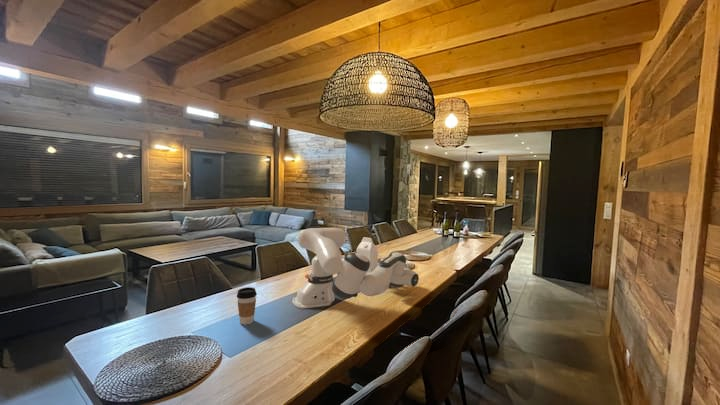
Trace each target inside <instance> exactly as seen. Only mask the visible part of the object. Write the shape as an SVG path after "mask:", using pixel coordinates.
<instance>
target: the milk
mask: <svg viewBox="0 0 720 405" xmlns="http://www.w3.org/2000/svg"><path fill="white" fill-rule="evenodd" d="M378 251H379V250H378V247H377V246H376V244H375V243H374V241H373V238H371V237H368V236H367V237H365V236H364V237H362V239H361V242H360V243H359V244H358V246H357V248H356V252H358V253H361V254H363V255H364V256H366V257H367V258H368V259H369V261H370V267H369V269H368V271H367V272H366V274H368V273H370V272H372V271H373V270H374V269H375V268H376V267H377V266H378V264H379V262H378V261H379V259H378V258H379V256H378V253H379V252H378Z"/></svg>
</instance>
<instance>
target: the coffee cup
mask: <svg viewBox="0 0 720 405" xmlns="http://www.w3.org/2000/svg"><path fill="white" fill-rule="evenodd" d="M256 296H257V291H256V288H254V287H243V288H242V287H241V288H240V289H238V290H237V293H236V298H237V311H238V316H239V324H240V325H241V324H243V325H242V326H247V325H246V324H249V325H251V323H252V322H253V321H254V322H255V313H256V311H255V310H256V300H257V297H256ZM254 322H253V323H254ZM253 323H252V324H253Z"/></svg>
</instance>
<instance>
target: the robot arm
mask: <svg viewBox="0 0 720 405" xmlns="http://www.w3.org/2000/svg"><path fill="white" fill-rule="evenodd" d="M346 241H347V234H346V232H345V230H344V229H343V228H340V227H309V228H305V229H301V230H300V231H299V233H298V235H297V243H298V246H300V248H302V249H305V250H309V251H310V252H312V253H314V254H315V256H314V257H313V258H312V259H311V273H310V274H308V273H306V274H305V275H304V278H306V279H307V281H305V283H304V284H303V285H302V286H301V287H299V288H298V289H297V291H296V292H297V293H296V296H295V297H294V296H293V298H292V300H291V302H292V304H293V305H294V306H295V307H296V308H299V309H309V308H310V309H311V308H319V307H320V308H321V307H327V306H331V305H332V303H333V302H334V301H335V299H336V298H335V296H336V297H337V298H340V299H342V300H347V299H349V300H350V299H351V298H352V299H353V298H357V297H358V294H359V293H362V294H363V295H365V296H367V297H375V296H379V295H381V294H383V293H385V292H386V291H387V290H388V288H389V287H392V288H396V289H397V288H398V289H399V288H402V287H404V286H408V287H413V288H414V287H416V286H417V285H418V283H419V279H420V278H419V274H418V273H417V272H416V271H414V270H412V269H410V268H409V265H408V264H406V263H407V261H408V260H407V257H406V256H405V254H403V253H401V252H398V251H396V252H391V253H390V254H389V255H388V256H386V257H385V259H384V260H382V261H381V260H380V262H378V266H377V267H376V268H375V269H374V270H373V271H372V272H370V273H368V274H366V272H367V271H368V269H369V267H370V261H369V259H368V258H367V257H366V256H364V255H363V254H361V253H358V252H350V253H345V254H342V252H341V250H340V249H341V248H342V247H343V246H344V245H345V243H346ZM334 275H336V277H335V279H334ZM389 285H390V286H389Z"/></svg>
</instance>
